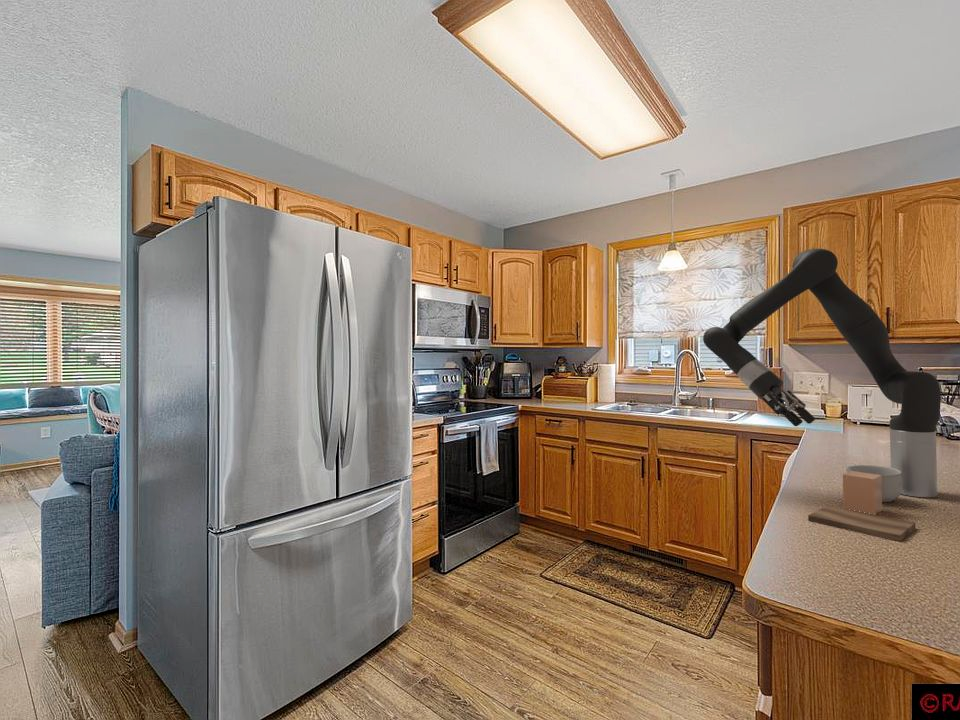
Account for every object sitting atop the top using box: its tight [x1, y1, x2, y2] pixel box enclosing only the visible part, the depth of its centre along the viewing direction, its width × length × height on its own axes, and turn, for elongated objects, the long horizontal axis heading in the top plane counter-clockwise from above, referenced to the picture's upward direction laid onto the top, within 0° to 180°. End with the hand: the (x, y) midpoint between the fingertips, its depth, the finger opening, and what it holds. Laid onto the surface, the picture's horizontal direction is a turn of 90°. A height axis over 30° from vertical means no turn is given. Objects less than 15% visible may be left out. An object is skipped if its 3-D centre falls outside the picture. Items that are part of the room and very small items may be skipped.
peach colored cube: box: [842, 471, 883, 515], centre depth 114 cm, size 6×6×8 cm
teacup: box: [846, 463, 902, 503], centre depth 124 cm, size 14×11×8 cm
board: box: [807, 504, 916, 542], centre depth 104 cm, size 12×16×1 cm
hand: (806, 422), depth 123 cm, fingers open, 8 cm apart
